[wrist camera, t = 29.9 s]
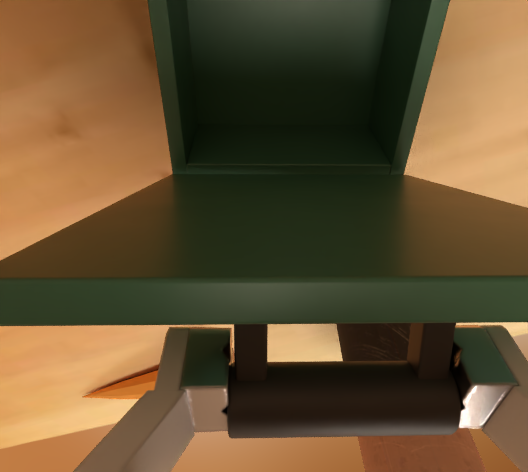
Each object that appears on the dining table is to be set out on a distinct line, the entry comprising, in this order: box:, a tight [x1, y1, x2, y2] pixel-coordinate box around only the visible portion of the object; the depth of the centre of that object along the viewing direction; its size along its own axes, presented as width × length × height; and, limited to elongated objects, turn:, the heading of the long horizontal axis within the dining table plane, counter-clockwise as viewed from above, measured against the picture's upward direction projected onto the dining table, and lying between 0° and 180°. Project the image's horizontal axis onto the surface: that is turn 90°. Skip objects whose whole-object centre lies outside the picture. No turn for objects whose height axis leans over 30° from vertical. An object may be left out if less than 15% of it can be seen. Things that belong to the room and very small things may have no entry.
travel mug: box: [337, 323, 487, 472], centre depth 29 cm, size 8×8×20 cm
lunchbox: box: [148, 0, 450, 175], centre depth 19 cm, size 15×13×6 cm
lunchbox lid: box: [0, 174, 528, 438], centre depth 14 cm, size 15×13×5 cm
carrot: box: [83, 360, 234, 399], centre depth 42 cm, size 20×4×4 cm, turn 113°
